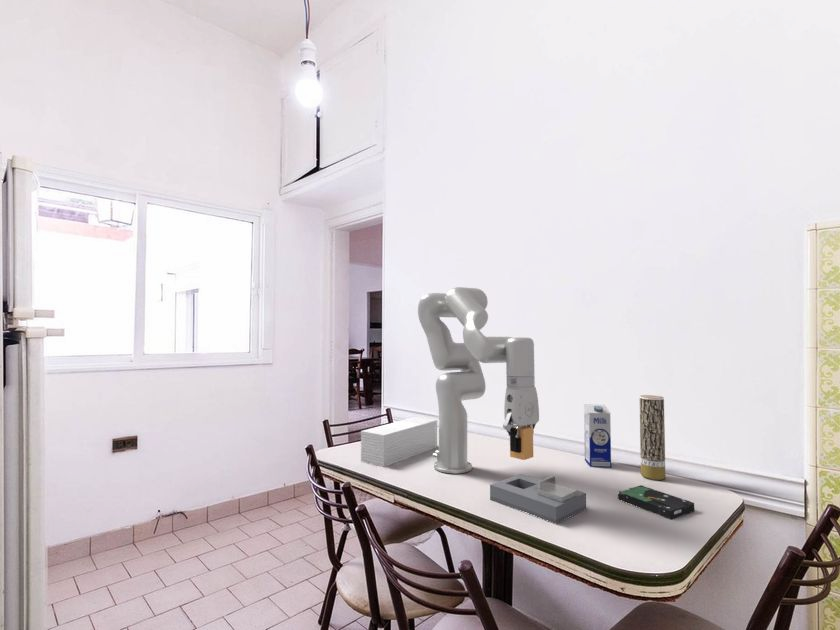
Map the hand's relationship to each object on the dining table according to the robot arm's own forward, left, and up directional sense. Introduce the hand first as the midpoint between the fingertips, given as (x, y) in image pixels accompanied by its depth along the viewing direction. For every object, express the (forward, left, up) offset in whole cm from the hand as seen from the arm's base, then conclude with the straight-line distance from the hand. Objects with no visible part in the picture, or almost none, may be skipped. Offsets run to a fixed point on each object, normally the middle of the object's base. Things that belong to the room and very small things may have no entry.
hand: (521, 449), depth 119 cm
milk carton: (-2, +46, -13) cm, 48 cm away
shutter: (+11, 0, -9) cm, 14 cm away
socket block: (+5, 0, -13) cm, 14 cm away
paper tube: (+16, +46, -13) cm, 51 cm away
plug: (0, 0, -2) cm, 2 cm away
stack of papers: (-56, +3, -14) cm, 58 cm away
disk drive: (+25, +23, -14) cm, 37 cm away
